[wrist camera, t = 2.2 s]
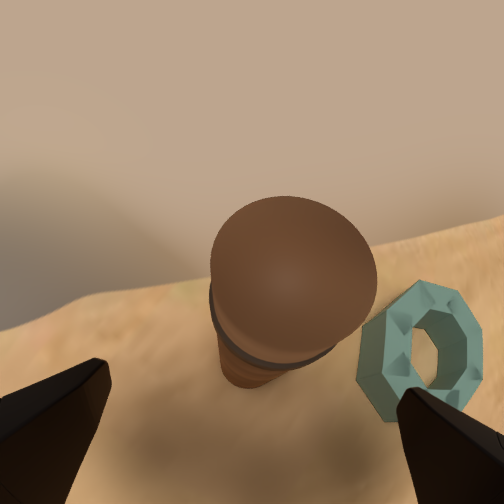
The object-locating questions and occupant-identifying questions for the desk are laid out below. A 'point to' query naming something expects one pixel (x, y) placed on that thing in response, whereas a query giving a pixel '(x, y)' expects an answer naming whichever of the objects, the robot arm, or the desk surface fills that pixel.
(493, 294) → the desk surface
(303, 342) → the banded wooden post
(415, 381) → the green faceted ring
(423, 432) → the robot arm
